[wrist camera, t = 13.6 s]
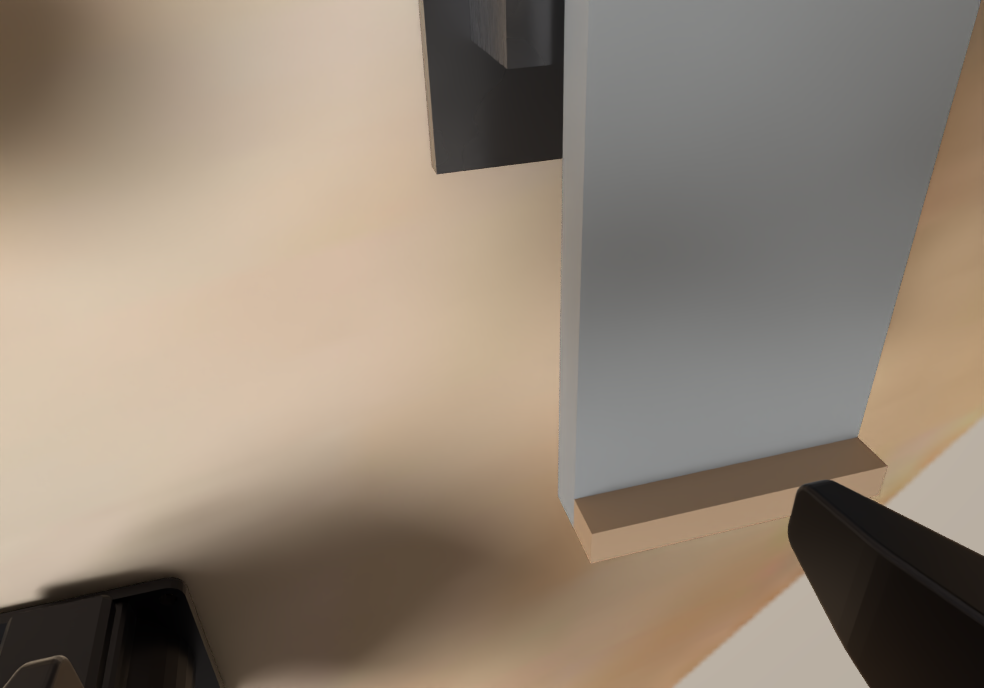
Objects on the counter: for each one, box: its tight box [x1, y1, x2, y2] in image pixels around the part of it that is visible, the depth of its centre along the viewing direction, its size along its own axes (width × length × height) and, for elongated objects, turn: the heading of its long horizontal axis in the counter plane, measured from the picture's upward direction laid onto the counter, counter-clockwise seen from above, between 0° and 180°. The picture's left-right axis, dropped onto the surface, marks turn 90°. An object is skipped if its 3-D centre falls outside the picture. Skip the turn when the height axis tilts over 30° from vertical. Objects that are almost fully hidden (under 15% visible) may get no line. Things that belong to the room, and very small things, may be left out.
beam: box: [558, 0, 981, 564], centre depth 14 cm, size 22×8×2 cm, turn 2°
